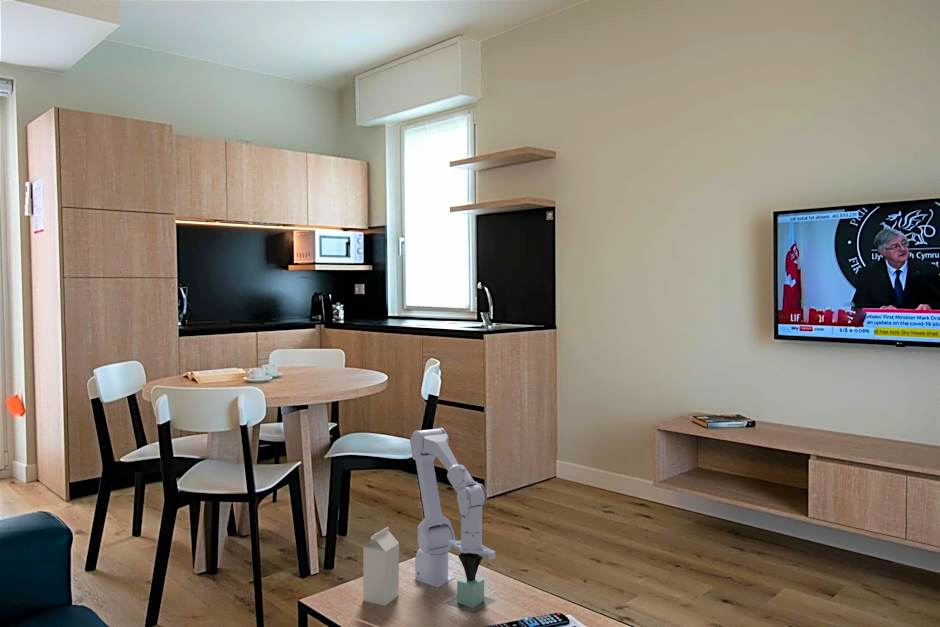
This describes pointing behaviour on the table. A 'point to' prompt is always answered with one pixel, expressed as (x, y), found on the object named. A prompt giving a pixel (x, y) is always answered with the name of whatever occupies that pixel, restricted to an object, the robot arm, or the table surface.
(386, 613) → the table surface
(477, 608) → the peg stand
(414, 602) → the table surface
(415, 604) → the table surface
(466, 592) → the mint green cube
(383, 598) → the milk carton
